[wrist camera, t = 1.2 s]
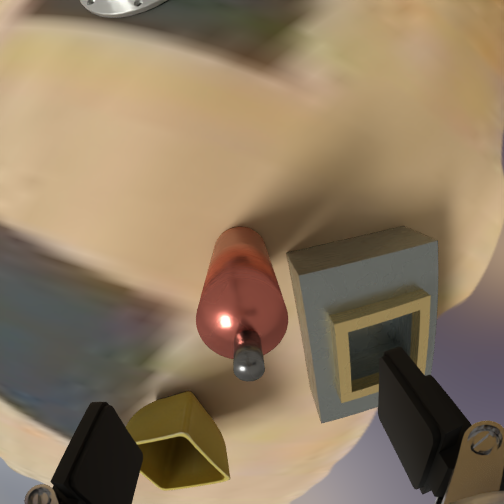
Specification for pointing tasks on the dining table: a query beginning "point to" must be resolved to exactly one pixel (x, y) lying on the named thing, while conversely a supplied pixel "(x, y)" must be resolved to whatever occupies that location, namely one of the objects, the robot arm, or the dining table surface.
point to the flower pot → (179, 443)
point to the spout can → (241, 303)
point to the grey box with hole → (364, 312)
